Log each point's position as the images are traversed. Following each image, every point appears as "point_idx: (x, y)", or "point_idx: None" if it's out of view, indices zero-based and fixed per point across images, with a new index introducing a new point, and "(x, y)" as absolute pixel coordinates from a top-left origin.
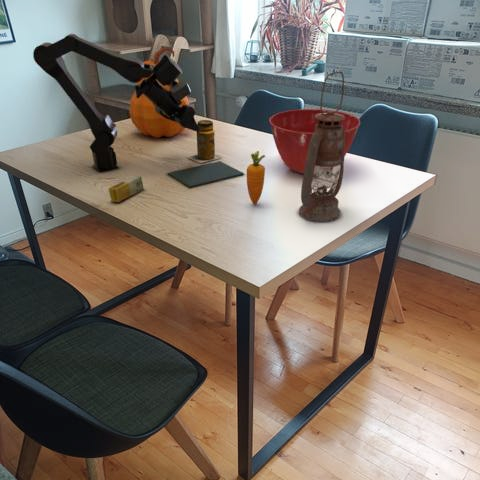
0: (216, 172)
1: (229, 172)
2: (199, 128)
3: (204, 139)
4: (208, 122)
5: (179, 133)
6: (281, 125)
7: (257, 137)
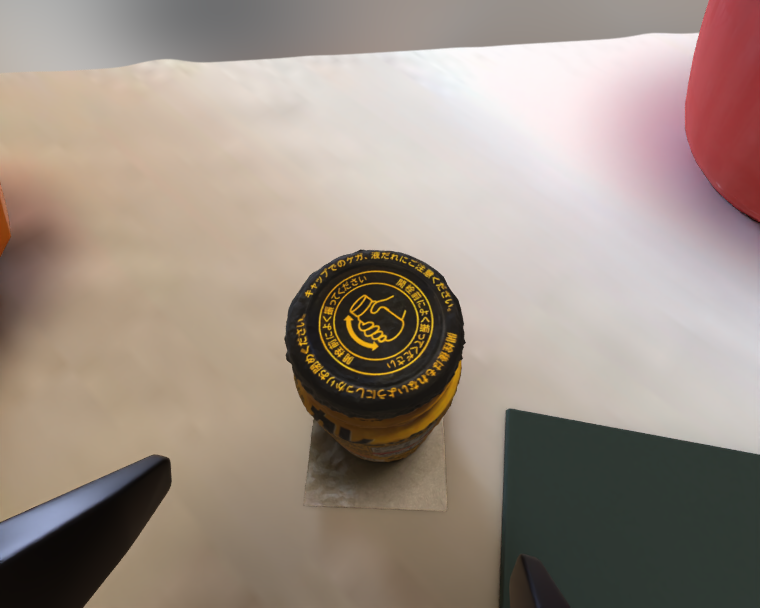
0: (702, 601)
1: (741, 524)
2: (549, 578)
3: (429, 429)
4: (408, 302)
5: (1, 253)
6: (754, 15)
7: (342, 86)
